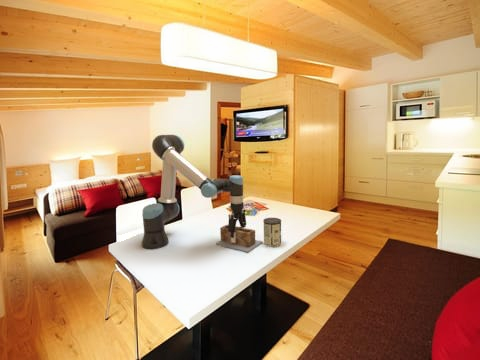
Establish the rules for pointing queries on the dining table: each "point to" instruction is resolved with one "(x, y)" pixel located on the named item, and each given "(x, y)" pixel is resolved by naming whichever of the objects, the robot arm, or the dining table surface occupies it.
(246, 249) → the peg board
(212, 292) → the dining table surface
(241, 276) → the dining table surface
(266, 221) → the coffee can
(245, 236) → the wooden hollow block
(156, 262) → the dining table surface
